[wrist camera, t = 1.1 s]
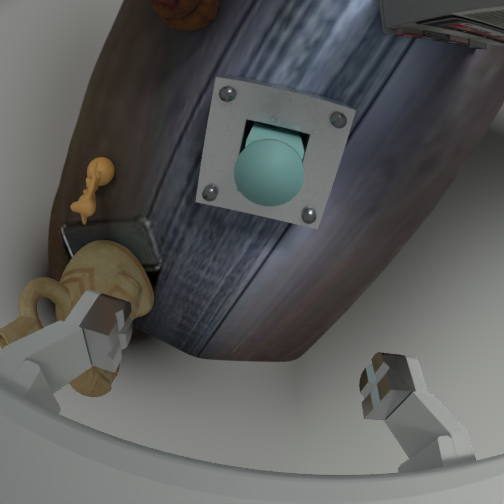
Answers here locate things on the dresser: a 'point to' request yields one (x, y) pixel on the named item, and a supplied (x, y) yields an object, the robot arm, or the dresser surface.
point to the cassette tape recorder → (446, 20)
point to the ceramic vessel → (71, 290)
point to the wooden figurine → (186, 13)
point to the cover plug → (270, 165)
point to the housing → (279, 114)
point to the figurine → (93, 186)
